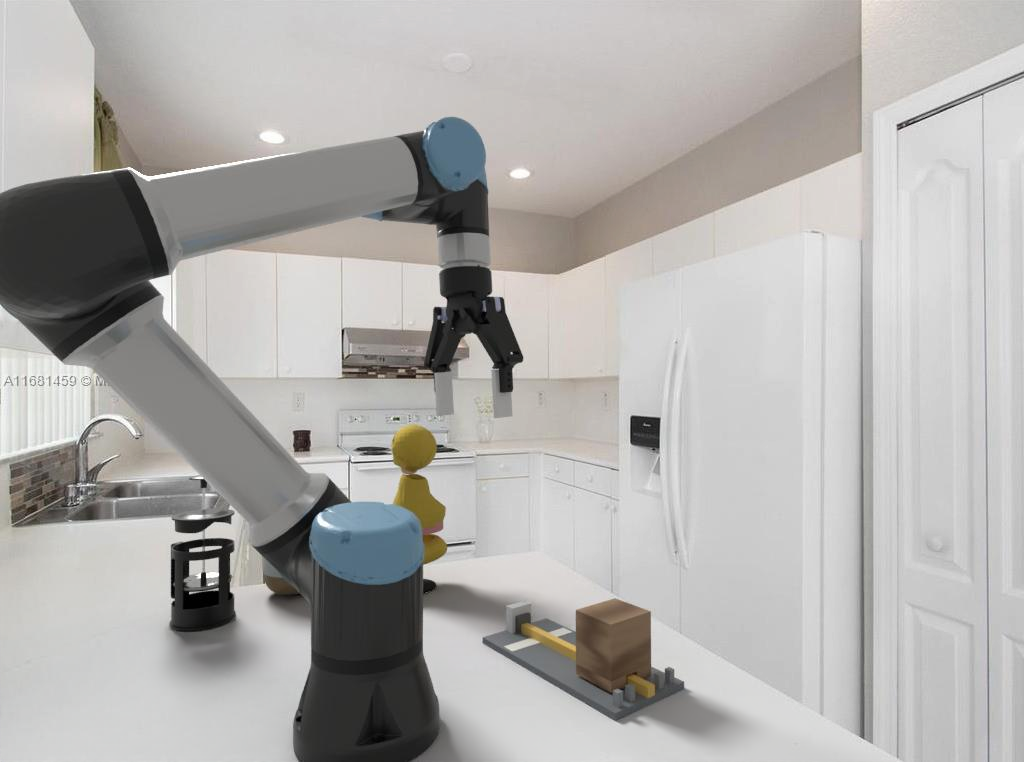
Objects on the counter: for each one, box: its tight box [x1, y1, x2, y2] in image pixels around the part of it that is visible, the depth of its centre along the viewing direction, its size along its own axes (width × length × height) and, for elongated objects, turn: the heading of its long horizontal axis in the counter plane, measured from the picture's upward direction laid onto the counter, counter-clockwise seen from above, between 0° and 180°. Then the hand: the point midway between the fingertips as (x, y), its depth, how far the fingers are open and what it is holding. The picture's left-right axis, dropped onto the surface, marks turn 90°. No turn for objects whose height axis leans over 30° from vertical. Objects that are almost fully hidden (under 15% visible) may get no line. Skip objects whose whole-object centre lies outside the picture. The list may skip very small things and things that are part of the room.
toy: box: [390, 424, 448, 595], centre depth 115 cm, size 16×12×30 cm
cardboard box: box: [575, 597, 652, 693], centre depth 76 cm, size 6×7×8 cm
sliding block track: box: [482, 600, 685, 721], centre depth 81 cm, size 26×12×4 cm, turn 37°
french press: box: [169, 474, 237, 633], centre depth 97 cm, size 12×9×23 cm
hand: (472, 416), depth 88 cm, fingers open, 13 cm apart
